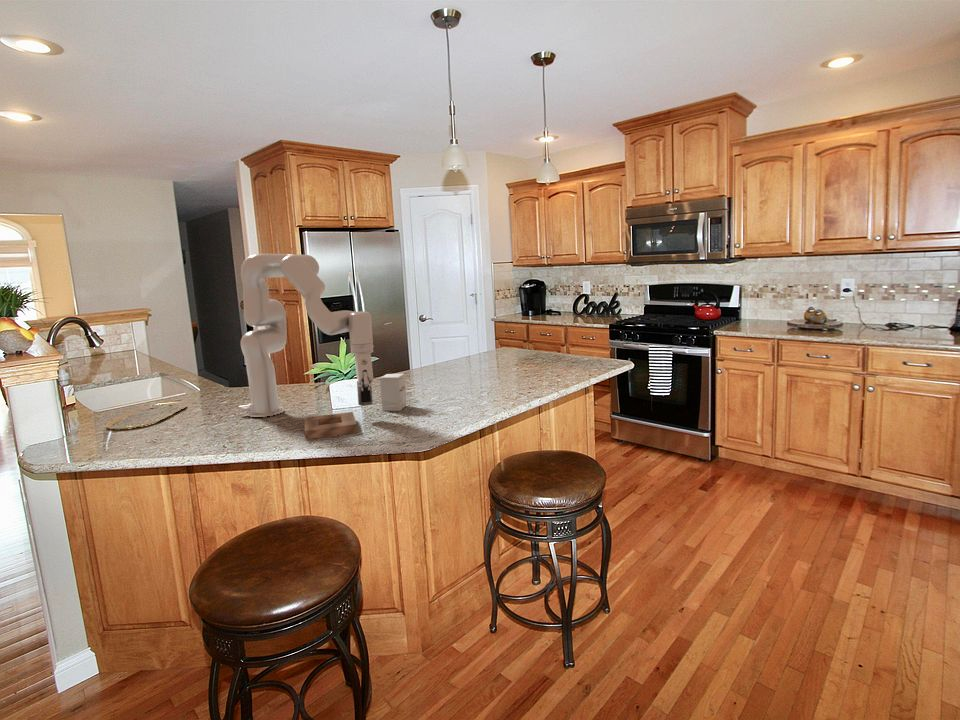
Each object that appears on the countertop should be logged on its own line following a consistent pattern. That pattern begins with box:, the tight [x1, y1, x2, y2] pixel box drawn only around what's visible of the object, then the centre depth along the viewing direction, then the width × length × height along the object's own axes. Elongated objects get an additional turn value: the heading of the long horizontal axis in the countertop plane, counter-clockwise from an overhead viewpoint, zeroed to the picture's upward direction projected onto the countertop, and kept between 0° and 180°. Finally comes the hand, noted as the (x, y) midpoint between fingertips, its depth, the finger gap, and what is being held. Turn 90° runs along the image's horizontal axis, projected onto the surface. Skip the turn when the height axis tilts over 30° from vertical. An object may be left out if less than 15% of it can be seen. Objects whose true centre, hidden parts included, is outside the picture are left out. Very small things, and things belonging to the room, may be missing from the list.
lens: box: [356, 380, 373, 406], centre depth 184 cm, size 5×5×8 cm
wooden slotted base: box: [304, 411, 359, 440], centre depth 176 cm, size 16×16×3 cm
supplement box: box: [379, 373, 407, 412], centre depth 199 cm, size 7×7×13 cm
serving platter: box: [105, 401, 188, 431], centre depth 205 cm, size 19×35×2 cm, turn 3°
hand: (365, 399), depth 184 cm, fingers closed on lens, 4 cm apart
